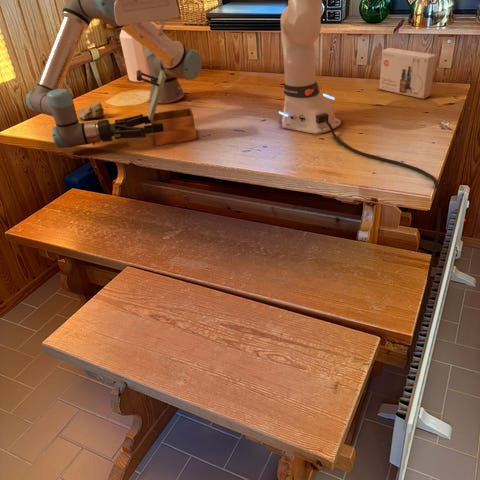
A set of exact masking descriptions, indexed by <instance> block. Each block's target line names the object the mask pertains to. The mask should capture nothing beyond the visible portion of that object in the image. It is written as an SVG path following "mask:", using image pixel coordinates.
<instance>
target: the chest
mask: <svg viewBox="0 0 480 480" xmlns="http://www.w3.org/2000/svg"><path fill="white" fill-rule="evenodd" d="M161 123H162V124H163V129H164V131H163V132H157V133H152V135H153V139H154V145H155V146H161V145H166V144H173V143H179V142H187V141H192V140H197V139H198V138H197V129H196V123H195V117H194V114H193V110H192V108H191V107H185V108H178V109H177V108H176V109H171V110H165V111H164V110H163V111H158V112H155V114H154V117H153V120H152V121H151V123H150V125H154V124H161Z"/></svg>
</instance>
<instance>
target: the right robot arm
mask: <svg viewBox="0 0 480 480" xmlns="http://www.w3.org/2000/svg"><path fill="white" fill-rule="evenodd" d="M287 2H288V3H287V6H286V7H285V8H284V9H283V11H282V12H281V14H280V33H281V34H280V35H281V44H282V53H283V67H284V68H283V70H284V82H283V89H282V90H283V94H284V103H283V111H278V114H279V115H281V120H280V121H281V128H282V129H288V130H292V131H298V132H303V133H309V134H313V135H314V134H315V135H319V134H324V133H328V132H331V135H332V136H333V138H334V139H335V141H336V142H337V143H339V144H340V145H341V146H343V147H344V148H346V149H348V150H349V151H351V152H353V153H356V154H358V155H361V156H363V157H367V158H371V159H374V160H378V161H382V162H385V163H390V164H394V165H398V166H401V167H404V168H407V169H410V170H413V171H416V172H418V173H420V174H422V175H423V176H425V177H427V178H429V179H431V181H432V182H433V184H434V187H435V189H436V190H438V191H439V190H441V187H440V185H439V183H438V180H437V179H436V177H435V176H434V175H433V174H431V173H429V172H427V171H425V170H423V169H422V168H419V167H417V166H414V165H411V164H407V163H404V162H402V161H398V160H394V159H390V158H385V157H381V156H378V155H374V154H370V153H366V152H363V151H360V150H358V149H355V148H354V147H351V146H350V145H348V144H346V143H345V142H344V141H342V140H341V139H339V138H338V136H337V134H336V132H335V131H334V130H335V129H337V128H338V127H339V126H340V125H341V124H342V120H341V119H340V118H337V117H336V116H335V110H334V109H335V108H334V106H333V105H332V104H331V103H330V102H329V101H328V100H327V99H330V100H333V101H335V99H336V98H335V97H334V96H331V95H328V94H326V93H323V94H321V93H320V90H321V89H322V86H323V85H322V84H320V85H319V84H318V81H317V57H316V50H315V42H316V40H318V38H319V36H320V34H321V30H322V24H321V20H322V11H323V9H322V8H323V0H288V1H287ZM114 14H115V20H116V24H117V25H119V26H123V25H130V24H133V26H134V29H135V30H136V31H137V32H138V34H139V38H140V39H141V38H144V35H143V32H140V31H139V29H138V28H137V27H138V23H145V22H158V21H159V23H160V27H159V29H158V33H159V36H163V33H164V31H163V30H164V28H165V24H166V22H165V21H166V20H173V19H179V17H180V10H179V5H178V1H177V0H116V1H115V3H114ZM326 98H327V99H326ZM441 220H442V206H440V207H439V208H438V209H437V217H436V229H435V235H434V241H433V247H432V251H431V255H430V260H429V264H428V269H427V276H426V281H427V282H431V276H432V270H433V265H434V260H435V256H436V252H437V247H438V243H439V237H440V231H441V230H440V229H441Z"/></svg>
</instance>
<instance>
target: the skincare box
mask: <svg viewBox="0 0 480 480" xmlns="http://www.w3.org/2000/svg"><path fill="white" fill-rule="evenodd" d="M436 57H437V54H435V53H427V52H423V51H422V52H420V51H413V50H407V49H400V48H395V47H394V48H393V47H387V48H385V49H382V50H381V61H380V74H379V86H378V87H379V88H378V89H379V90H383V91H387V92H391V93H395V94H399V95H405V96H409V97H414V98H418V99H422V100H424V99H426V98H428V97H430V96H431V91H432V86H433V85H432V84H433V78H434V73H435V72H434V71H435V70H434V69H435V64H436Z"/></svg>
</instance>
